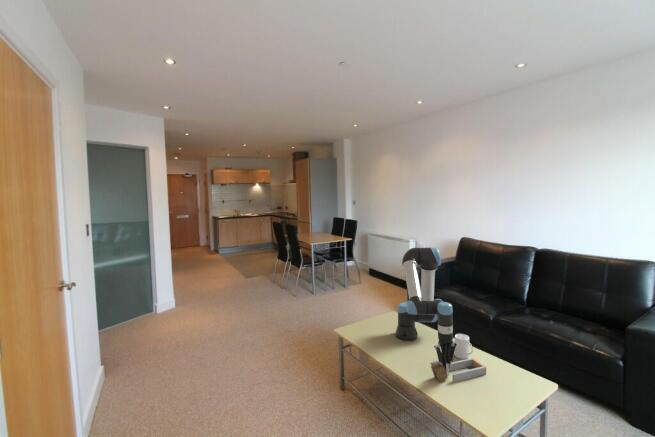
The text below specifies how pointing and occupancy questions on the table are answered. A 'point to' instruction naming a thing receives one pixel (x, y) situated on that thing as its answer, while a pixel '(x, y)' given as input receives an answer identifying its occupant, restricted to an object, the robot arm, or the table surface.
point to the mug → (462, 346)
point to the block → (439, 372)
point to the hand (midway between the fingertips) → (446, 374)
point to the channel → (473, 371)
